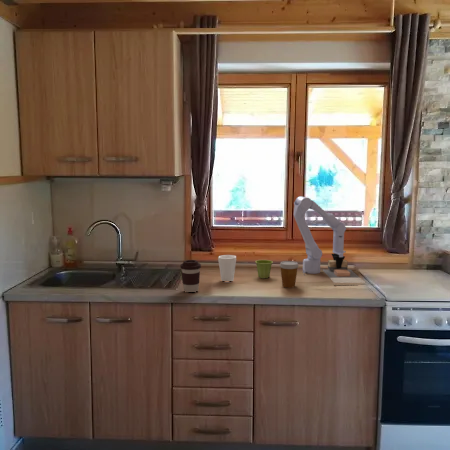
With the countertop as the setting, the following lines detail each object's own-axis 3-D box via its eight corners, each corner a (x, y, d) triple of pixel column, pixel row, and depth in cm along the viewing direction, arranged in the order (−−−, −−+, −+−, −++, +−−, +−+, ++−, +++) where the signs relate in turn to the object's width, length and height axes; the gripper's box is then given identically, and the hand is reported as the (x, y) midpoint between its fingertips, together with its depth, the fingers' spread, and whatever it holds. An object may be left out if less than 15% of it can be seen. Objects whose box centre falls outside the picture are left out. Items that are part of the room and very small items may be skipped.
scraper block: (329, 269, 261) (329, 261, 260) (327, 268, 265) (328, 260, 264) (347, 269, 261) (347, 261, 261) (345, 267, 265) (345, 260, 264)
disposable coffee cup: (287, 282, 245) (287, 260, 243) (302, 286, 238) (302, 262, 236) (275, 286, 238) (275, 262, 236) (290, 289, 231) (290, 266, 230)
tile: (336, 276, 250) (337, 272, 250) (333, 273, 257) (334, 269, 257) (350, 276, 250) (350, 272, 250) (346, 273, 257) (346, 269, 257)
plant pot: (260, 274, 262) (261, 259, 261) (275, 276, 257) (275, 261, 256) (252, 277, 255) (252, 262, 254) (267, 280, 249) (267, 264, 248)
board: (333, 285, 238) (334, 282, 238) (322, 272, 266) (322, 269, 266) (365, 285, 238) (365, 282, 238) (350, 271, 266) (350, 269, 266)
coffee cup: (182, 288, 235) (181, 259, 233) (201, 288, 235) (201, 259, 233) (179, 294, 225) (179, 263, 223) (200, 294, 225) (199, 263, 223)
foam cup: (215, 282, 246) (215, 257, 245) (222, 277, 255) (222, 254, 253) (232, 283, 243) (232, 259, 241) (238, 279, 251) (238, 255, 250)
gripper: (349, 245, 254) (348, 270, 256) (342, 241, 268) (341, 264, 270) (336, 245, 254) (335, 270, 256) (329, 241, 268) (329, 264, 270)
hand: (337, 267), depth 263 cm, fingers closed on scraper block, 4 cm apart
